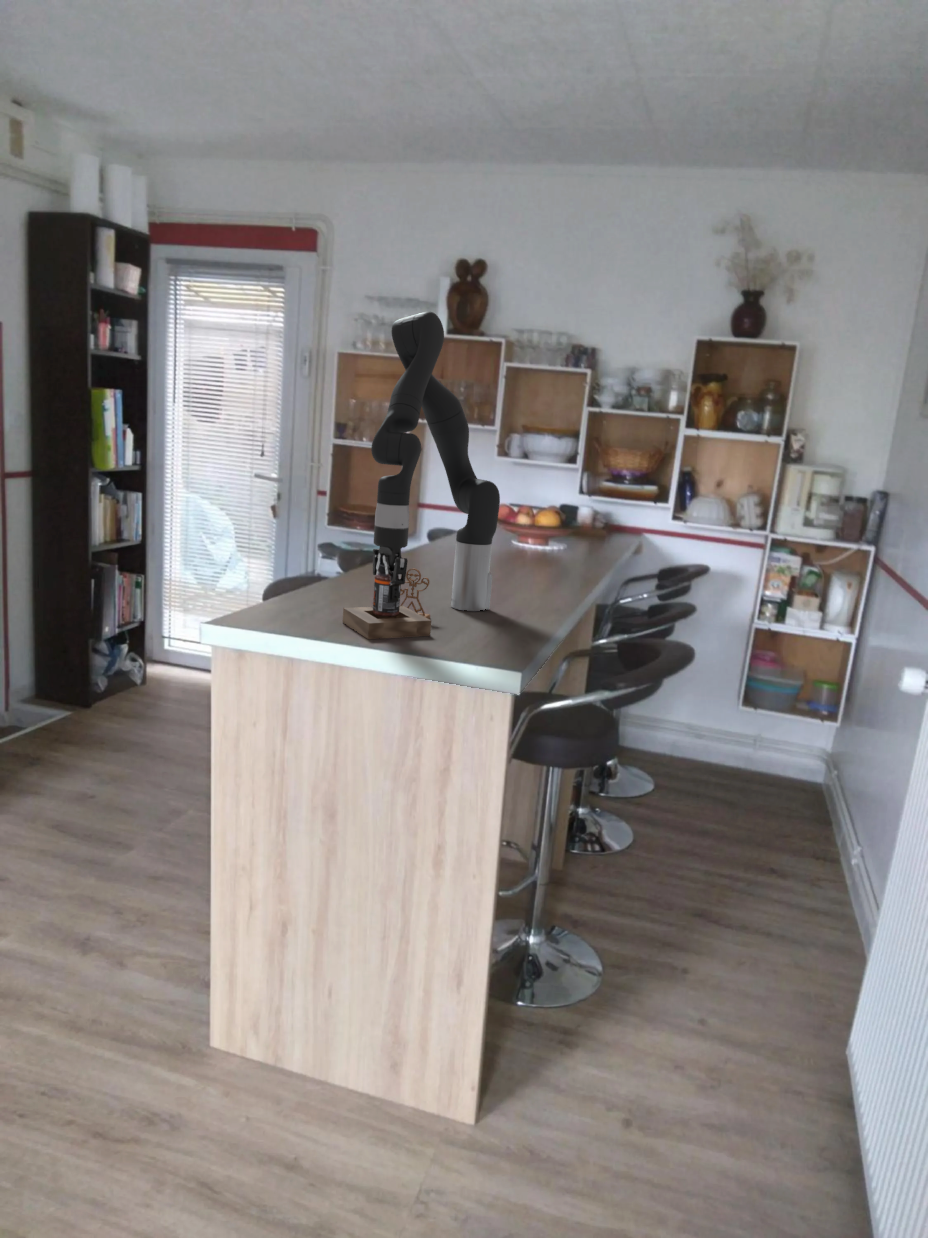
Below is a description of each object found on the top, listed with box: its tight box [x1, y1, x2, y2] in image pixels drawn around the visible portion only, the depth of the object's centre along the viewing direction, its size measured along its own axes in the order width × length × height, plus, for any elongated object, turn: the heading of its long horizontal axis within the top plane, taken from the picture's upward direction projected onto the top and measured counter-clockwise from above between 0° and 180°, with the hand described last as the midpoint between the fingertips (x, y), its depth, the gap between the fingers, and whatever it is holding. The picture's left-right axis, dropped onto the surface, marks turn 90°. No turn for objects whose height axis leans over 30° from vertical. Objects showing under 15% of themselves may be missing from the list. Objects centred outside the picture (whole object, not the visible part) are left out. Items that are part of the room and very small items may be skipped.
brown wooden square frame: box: [342, 605, 432, 640], centre depth 194 cm, size 15×15×4 cm
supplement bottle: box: [372, 564, 402, 617], centre depth 193 cm, size 6×6×11 cm
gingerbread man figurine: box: [400, 567, 431, 620], centre depth 207 cm, size 9×4×12 cm, turn 73°
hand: (387, 598), depth 193 cm, fingers closed on supplement bottle, 6 cm apart
